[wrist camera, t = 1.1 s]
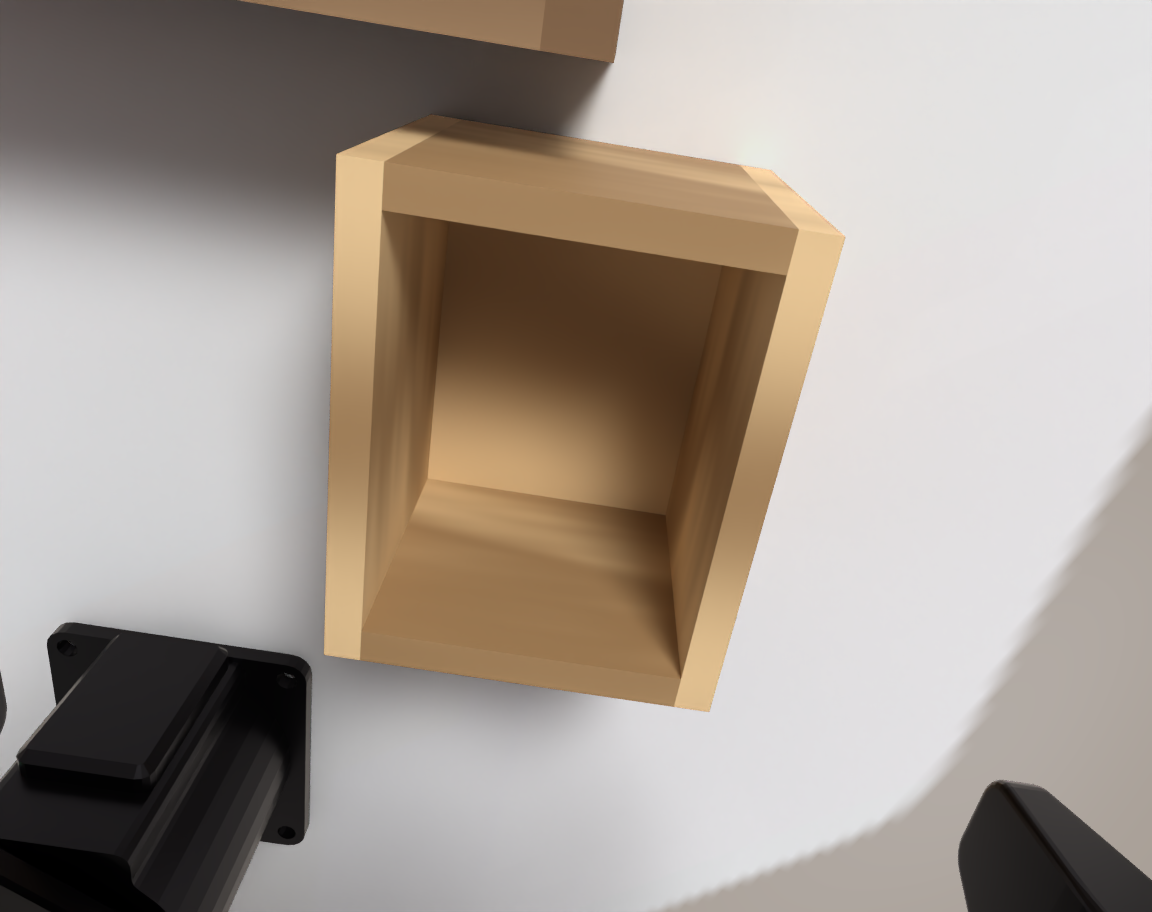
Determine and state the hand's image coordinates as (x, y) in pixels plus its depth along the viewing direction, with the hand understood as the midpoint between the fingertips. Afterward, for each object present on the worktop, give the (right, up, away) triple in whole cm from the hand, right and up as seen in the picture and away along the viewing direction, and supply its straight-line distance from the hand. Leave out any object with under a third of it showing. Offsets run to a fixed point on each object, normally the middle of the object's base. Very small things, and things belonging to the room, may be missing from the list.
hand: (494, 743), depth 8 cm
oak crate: (+1, +5, +10) cm, 11 cm away
